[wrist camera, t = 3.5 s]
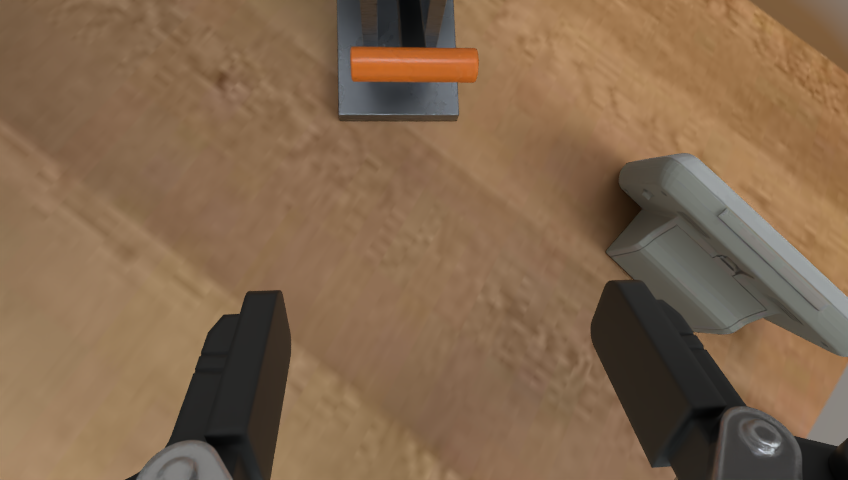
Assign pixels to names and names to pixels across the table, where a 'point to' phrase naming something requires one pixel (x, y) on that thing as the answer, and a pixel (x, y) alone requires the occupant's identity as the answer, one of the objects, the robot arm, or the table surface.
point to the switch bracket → (378, 27)
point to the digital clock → (721, 256)
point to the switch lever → (413, 56)
